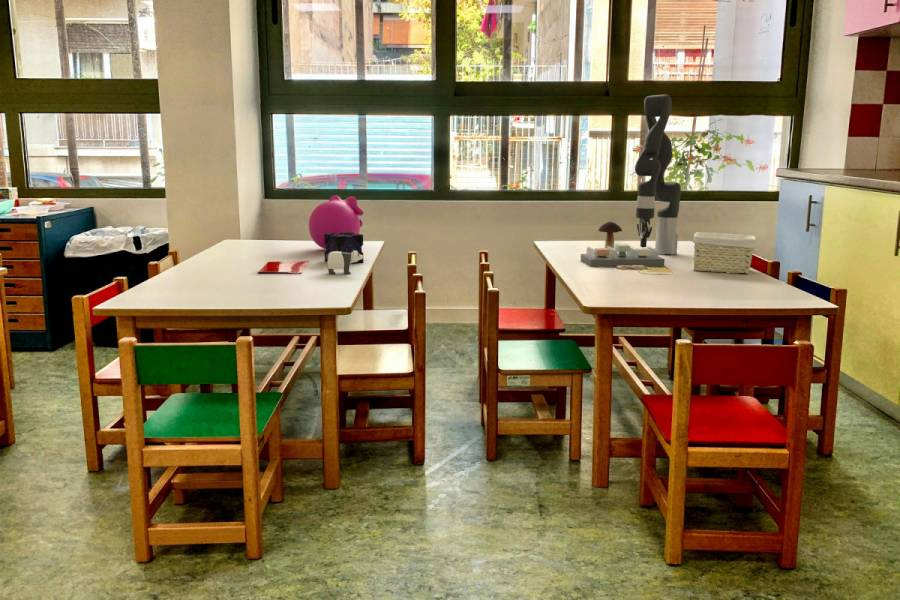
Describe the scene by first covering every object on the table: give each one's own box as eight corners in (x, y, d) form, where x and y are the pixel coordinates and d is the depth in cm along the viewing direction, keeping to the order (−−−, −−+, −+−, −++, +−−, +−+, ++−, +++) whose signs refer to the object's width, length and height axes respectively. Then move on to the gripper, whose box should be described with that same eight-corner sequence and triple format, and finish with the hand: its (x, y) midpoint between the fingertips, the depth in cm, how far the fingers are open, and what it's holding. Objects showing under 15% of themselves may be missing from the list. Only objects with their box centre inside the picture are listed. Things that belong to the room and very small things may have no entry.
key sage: (625, 254, 336) (626, 244, 335) (629, 256, 332) (630, 245, 331) (614, 254, 336) (615, 244, 335) (618, 256, 331) (618, 245, 330)
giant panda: (326, 275, 298) (325, 250, 296) (325, 272, 304) (325, 248, 302) (364, 274, 301) (364, 249, 299) (363, 271, 306) (362, 247, 304)
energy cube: (338, 265, 321) (337, 236, 319) (324, 261, 331) (324, 233, 328) (363, 263, 328) (363, 234, 326) (349, 259, 338) (349, 231, 335)
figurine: (371, 249, 367) (370, 196, 362) (338, 255, 347) (337, 199, 342) (333, 245, 379) (332, 193, 374) (299, 251, 359) (297, 196, 354)
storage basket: (752, 269, 323) (755, 234, 320) (753, 275, 308) (756, 239, 305) (692, 265, 331) (695, 231, 328) (690, 271, 316) (693, 235, 313)
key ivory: (645, 258, 338) (646, 248, 337) (649, 260, 333) (650, 249, 332) (634, 258, 337) (635, 248, 336) (638, 260, 332) (639, 249, 331)
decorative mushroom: (607, 256, 355) (609, 223, 352) (592, 252, 364) (593, 221, 361) (625, 254, 360) (627, 222, 357) (610, 251, 369) (612, 220, 366)
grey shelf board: (651, 260, 344) (652, 245, 342) (664, 266, 328) (665, 251, 327) (580, 260, 341) (581, 245, 339) (590, 266, 325) (591, 251, 324)
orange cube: (605, 258, 336) (606, 248, 335) (608, 260, 331) (609, 249, 330) (594, 258, 335) (594, 248, 334) (597, 260, 330) (598, 249, 330)
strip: (643, 267, 324) (643, 264, 324) (647, 269, 320) (647, 266, 320) (615, 267, 323) (615, 265, 323) (619, 269, 319) (619, 266, 319)
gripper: (659, 208, 324) (657, 249, 328) (648, 205, 337) (646, 244, 341) (642, 208, 323) (639, 249, 327) (631, 205, 336) (629, 245, 340)
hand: (643, 247), depth 334 cm, fingers closed
